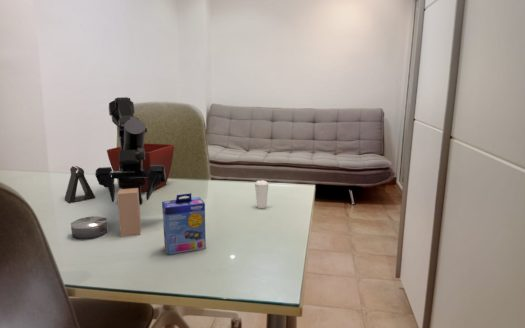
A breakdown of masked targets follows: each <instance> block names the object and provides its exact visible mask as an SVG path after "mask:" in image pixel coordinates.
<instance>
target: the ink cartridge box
mask: <svg viewBox="0 0 525 328" xmlns="http://www.w3.org/2000/svg"><path fill="white" fill-rule="evenodd" d="M182 197H183V198H182ZM161 208H162V210H161V211H162V221H163V222H162V223H163V225H162V227H163V238H164V239H163V240H164V249H165V252H166V255H167V256H170V255H174V254H181V253H187V252H193V251H199V250H205V249H206V248H207V243H206V242H207V241H206V202H205V201H203V200H202V198H201V197H200V196H199V197H192V192H188V193H181V194H176V198H175V199H172V200H171V199H170V200H163V201H161Z"/></svg>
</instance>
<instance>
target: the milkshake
mask: <svg viewBox="0 0 525 328" xmlns="http://www.w3.org/2000/svg"><path fill="white" fill-rule="evenodd" d="M270 182H271V180H269V182H268V181H266V180H264V179H263V180H256V181H255V183H254V188H255V198H256V199H255V201H256V208H257V209H266V208H267V206H268V192H269V184H270Z"/></svg>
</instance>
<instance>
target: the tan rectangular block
mask: <svg viewBox="0 0 525 328" xmlns="http://www.w3.org/2000/svg"><path fill="white" fill-rule="evenodd" d="M116 196H117V205H118V207H117V208H118V216H119V217H118V218H119V228H120V237H131V236H133V237H134V236H140V235H141V233H142V219H141V207H140V206H141V204H139V190H138V188H130V189H121V188H118V191H117V195H116Z"/></svg>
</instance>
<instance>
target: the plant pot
mask: <svg viewBox="0 0 525 328" xmlns="http://www.w3.org/2000/svg"><path fill="white" fill-rule="evenodd" d="M143 148H144V149H145V160H143V166H142V168H143V170H150V165H163V166H164V168H165V175H166V181H165V182H161V184H160V185H157V186H156V188H155V189H154V190H153V192H154V191H156V190H158V189H159V188H162V187H164V186H166V185H167V183H168V179H169V176H170V172H171V167H172V163H173V159H174V158H173V157H174V152H175V151H174V149H175V145H174V144H170V143H169V144H168V143H167V144H166V143H145V142H143ZM120 150H121V147H120V146H117V147H113V148H110V149H106V153H107V157H108V161H109V164H110V165H111V169H112V171H113V172H114V171H119V164H120V162H119V151H120ZM148 179H149V177H145V184H144V186H143V185H142V186H141V193H147V187H148ZM121 183H122V182H121Z"/></svg>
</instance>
